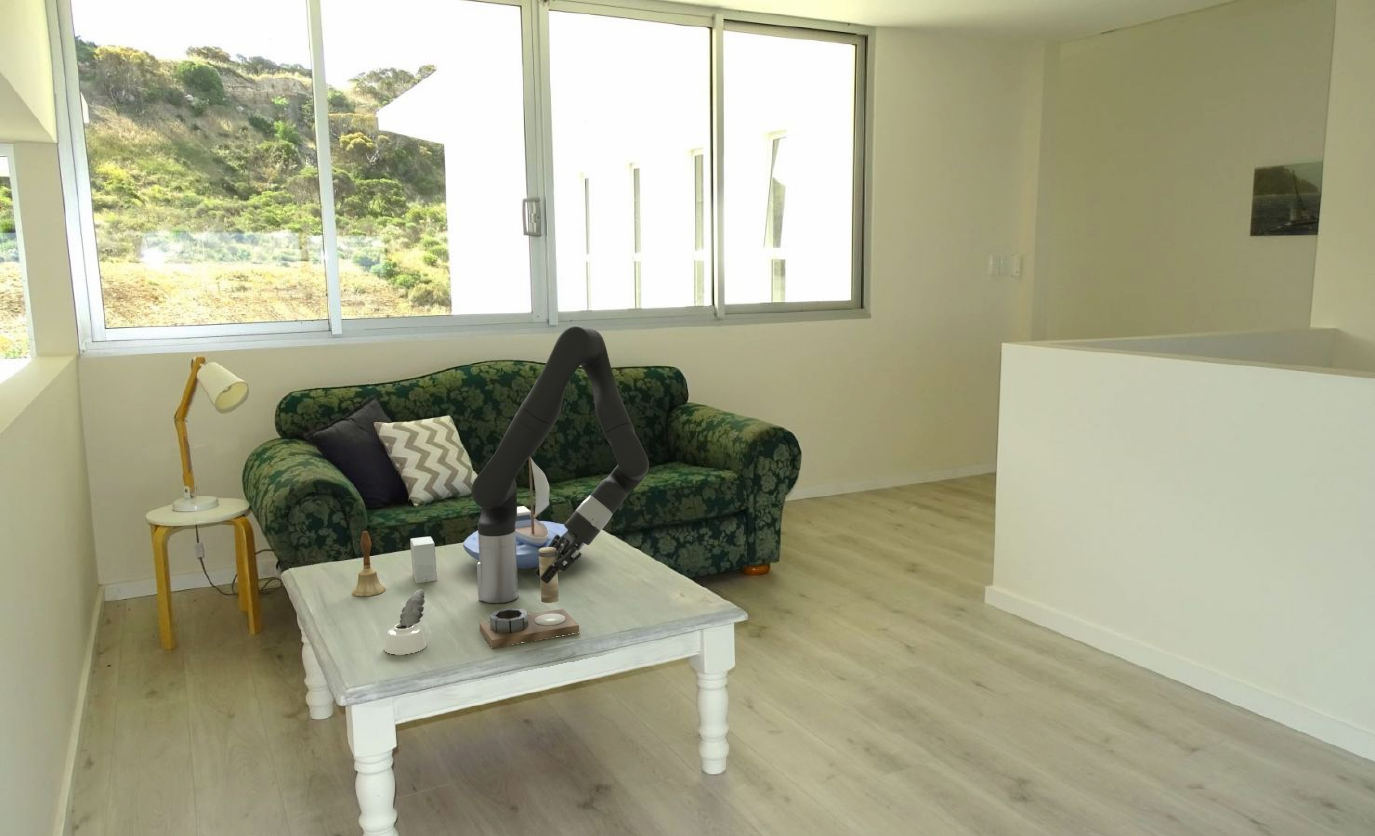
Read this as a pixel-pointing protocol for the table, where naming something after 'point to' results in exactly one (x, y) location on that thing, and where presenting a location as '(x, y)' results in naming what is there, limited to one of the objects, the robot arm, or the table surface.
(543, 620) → the rest disc
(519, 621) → the ring
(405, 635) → the inkwell
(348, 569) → the table surface
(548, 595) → the wooden peg
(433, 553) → the small box
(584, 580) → the table surface
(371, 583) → the hand bell
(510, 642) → the walnut board
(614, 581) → the table surface
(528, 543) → the sailboat
